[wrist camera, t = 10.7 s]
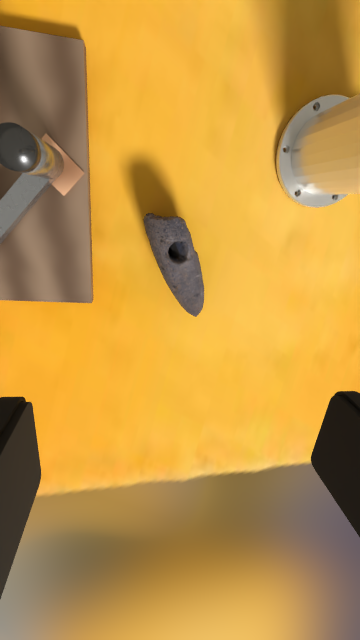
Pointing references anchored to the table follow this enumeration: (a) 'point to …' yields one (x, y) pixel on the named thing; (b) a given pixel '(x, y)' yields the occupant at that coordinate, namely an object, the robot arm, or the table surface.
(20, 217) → the press lever
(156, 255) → the perforated stone tool
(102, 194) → the table surface
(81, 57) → the board
